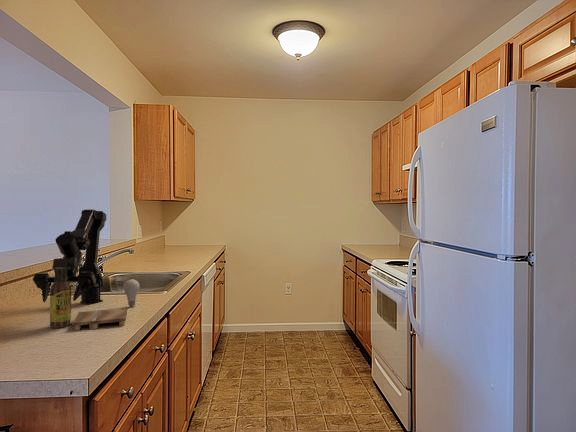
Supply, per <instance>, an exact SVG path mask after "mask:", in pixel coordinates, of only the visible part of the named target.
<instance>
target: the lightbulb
mask: <svg viewBox="0 0 576 432" xmlns="http://www.w3.org/2000/svg"><path fill="white" fill-rule="evenodd" d="M140 287H141V285H140V283H139V281H138V280H136V279H134V278H132V279H128V280H126V281H125V282H124V283H123V287H122V288H123V291H124V294H125V295H126V298H127V303H128V306H129V307H131V308H132V307H134V306H136V299H137V295H138V293H139V290H140Z"/></svg>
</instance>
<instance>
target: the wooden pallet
mask: <svg viewBox="0 0 576 432" xmlns="http://www.w3.org/2000/svg"><path fill="white" fill-rule="evenodd" d="M127 316H128V308H127V307H123V308H114V309H100V310H98V309H97V310H91V311H90V310H89V311H88V310H87V311H79V312H78V313H77V315H76V316H75V317H74V319H73V321H72V324H71V325H72V327H73V331H80V329H81V328H82V326H87V325H89V326H88V328H89V330H93V329H98V328H99V326H100V324H108V323H117V322H118V323H119V324H118V325H119V327H122V326H125V324H126V321H127Z"/></svg>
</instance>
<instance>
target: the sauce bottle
mask: <svg viewBox="0 0 576 432" xmlns="http://www.w3.org/2000/svg"><path fill="white" fill-rule="evenodd" d="M53 271H54V276H55V279H54V283H52V284H51V286H50V293H49V327H50V328H52V329H54V328H55V329H59V328H66V327H69V326H71V320H72V286H71V284H70V283H68V281H67V279H68V278H67V272H68V268H63V267H56V268H54V269H53Z"/></svg>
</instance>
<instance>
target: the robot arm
mask: <svg viewBox="0 0 576 432" xmlns="http://www.w3.org/2000/svg"><path fill="white" fill-rule="evenodd" d="M80 215H81V216H80V218H79V220H78V223H77V224H76V227H75V228H74V230H72V231H71V230H70V231H69V230H68V231H65V230H64V233H61V234H60V235H58V236H57V237H56V238H55V244H56V245H57V247H58V251H59V253H60V254H61V255H63V257H62V258H53V261H52V269H53V270H54V268H56V267H63V268H68V272H67V278H68V279H67V281H68V283H69V284H70V283H77V285H76V288H75V291H74V294H73V297H72V300H73V302H75V301H77V299H79V297H80V296H81V297H80V299H81V300H80V301H79V303H80V304H85V305H92V304H96V303H101V302H103V301H104V300H103V299H101V289H102V288H104V286H105V283H104V278H103V275H102V273H101V269H100V267H99V266H98V256H99V246H100V245H99V244H100V234H101V231H102V230H103V229H104V227H105V226H106V225H105V223H106V222H107V213H105V211H103V210H97V209H93V208H92V209H90V208H89V209H83V210H81V213H80ZM82 251H85V257H84V264H83V265H81V266H80V262H81V261H82V260H83V257H82V255H83V253H82ZM79 266H80V267H79ZM77 274H78V275H77ZM54 279H55V275H54V276H50V274H49V273H48V272H37V273H35V274H34V275H33V278H32V281H33V283H34V284H35V286H36V288H37V289H40V291H41V296H42V301H43V302H42V303H45V302H46V301H47V299H48V297H49V296H50V293H51V286H52V285H53V283H54Z"/></svg>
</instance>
